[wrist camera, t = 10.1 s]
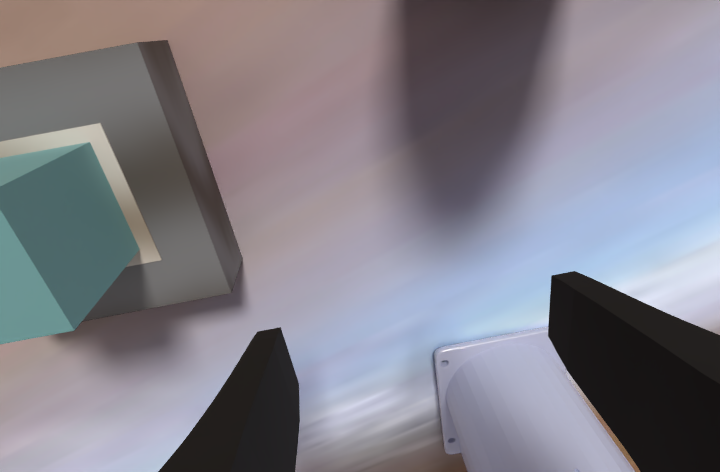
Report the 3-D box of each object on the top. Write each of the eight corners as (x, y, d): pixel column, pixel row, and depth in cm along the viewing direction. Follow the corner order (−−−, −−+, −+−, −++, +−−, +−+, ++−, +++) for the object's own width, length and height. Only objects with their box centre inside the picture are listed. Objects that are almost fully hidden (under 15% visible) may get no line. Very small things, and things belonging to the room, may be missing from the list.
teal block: (139, 249, 17) (74, 330, 12) (31, 269, 16) (-75, 358, 12) (89, 141, 15) (-11, 191, 10) (-35, 164, 14) (-191, 224, 10)
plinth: (242, 258, 21) (231, 293, 18) (44, 296, 20) (2, 337, 18) (167, 40, 16) (136, 42, 13) (-89, 87, 16) (-172, 99, 13)
